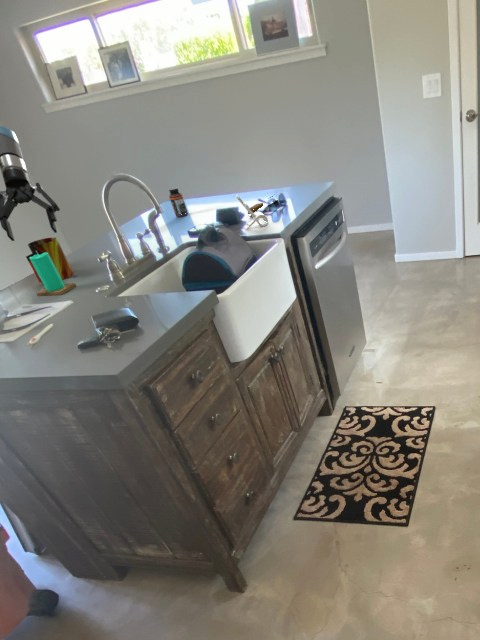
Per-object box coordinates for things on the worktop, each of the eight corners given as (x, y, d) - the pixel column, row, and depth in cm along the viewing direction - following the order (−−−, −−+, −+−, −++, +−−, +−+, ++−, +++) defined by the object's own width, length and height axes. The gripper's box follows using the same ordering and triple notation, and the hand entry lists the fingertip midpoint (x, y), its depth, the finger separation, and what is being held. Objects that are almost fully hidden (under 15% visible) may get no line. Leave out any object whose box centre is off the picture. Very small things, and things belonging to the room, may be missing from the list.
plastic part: (269, 225, 213) (261, 193, 206) (245, 230, 211) (237, 198, 204) (265, 221, 219) (258, 190, 211) (242, 226, 217) (234, 194, 209)
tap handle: (278, 193, 246) (252, 210, 225) (280, 201, 248) (254, 217, 227) (272, 194, 247) (245, 210, 226) (274, 201, 249) (247, 218, 228)
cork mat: (37, 296, 176) (35, 293, 175) (52, 287, 182) (51, 284, 181) (61, 294, 174) (60, 291, 173) (76, 286, 180) (75, 283, 179)
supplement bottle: (174, 216, 250) (165, 189, 243) (186, 213, 252) (177, 186, 245) (178, 218, 246) (168, 190, 239) (190, 215, 248) (181, 187, 241)
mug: (41, 286, 184) (21, 250, 176) (49, 275, 194) (31, 240, 186) (69, 281, 186) (51, 244, 178) (75, 270, 196) (58, 235, 188)
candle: (68, 284, 179) (49, 246, 171) (58, 290, 174) (38, 252, 166) (53, 285, 180) (33, 248, 172) (42, 291, 176) (22, 254, 168)
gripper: (59, 176, 178) (76, 233, 177) (-18, 190, 174) (-1, 248, 173) (49, 160, 171) (66, 219, 170) (-32, 173, 167) (-15, 234, 166)
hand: (32, 234), depth 172 cm, fingers open, 13 cm apart
